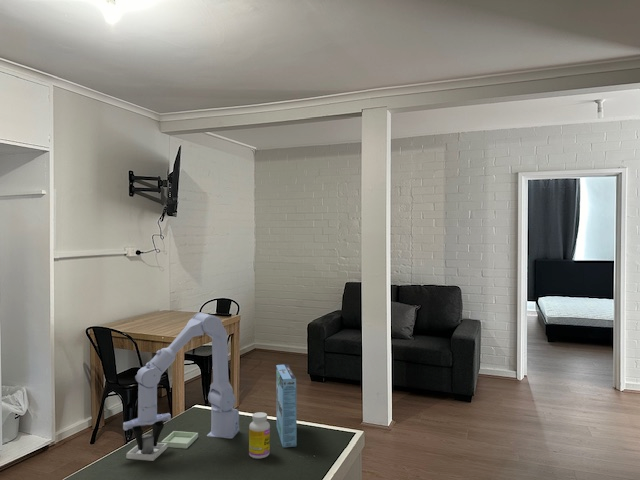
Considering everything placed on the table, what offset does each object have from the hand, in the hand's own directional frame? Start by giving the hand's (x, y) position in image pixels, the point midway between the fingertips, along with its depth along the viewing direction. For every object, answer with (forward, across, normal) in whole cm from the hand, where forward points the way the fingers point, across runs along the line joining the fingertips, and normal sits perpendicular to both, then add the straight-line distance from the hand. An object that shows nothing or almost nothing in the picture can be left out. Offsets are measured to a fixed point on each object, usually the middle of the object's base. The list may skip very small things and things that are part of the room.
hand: (147, 447), depth 153 cm
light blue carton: (+3, +44, -13) cm, 46 cm away
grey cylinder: (+1, 0, 0) cm, 1 cm away
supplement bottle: (+3, +29, -21) cm, 36 cm away
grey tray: (+2, 0, 0) cm, 2 cm away
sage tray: (+2, +12, +2) cm, 12 cm away
